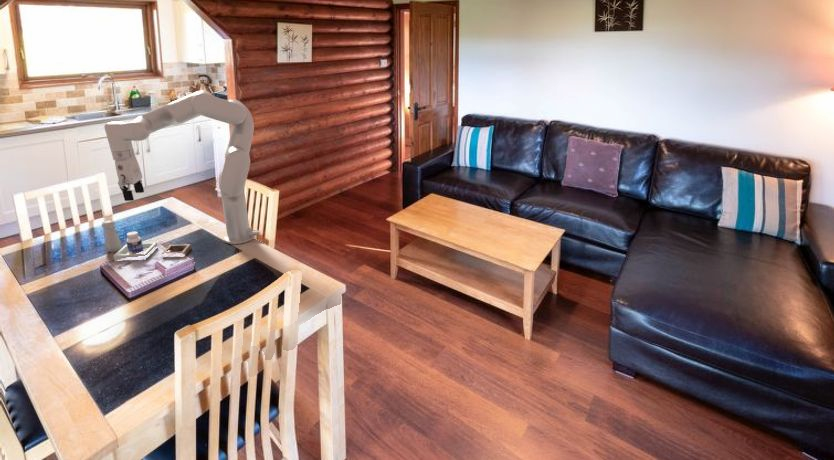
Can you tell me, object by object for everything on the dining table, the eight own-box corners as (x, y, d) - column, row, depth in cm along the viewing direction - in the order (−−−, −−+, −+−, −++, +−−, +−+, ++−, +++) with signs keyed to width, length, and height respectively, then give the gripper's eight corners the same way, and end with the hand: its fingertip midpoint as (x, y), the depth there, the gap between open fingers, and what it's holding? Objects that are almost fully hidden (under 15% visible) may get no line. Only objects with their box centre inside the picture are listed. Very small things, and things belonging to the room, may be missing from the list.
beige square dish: (191, 248, 206) (190, 244, 205) (184, 257, 198) (183, 252, 197) (170, 249, 205) (169, 244, 205) (162, 257, 197) (161, 253, 197)
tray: (158, 247, 206) (156, 242, 205) (146, 260, 195) (144, 254, 194) (128, 249, 205) (127, 243, 204) (114, 261, 194) (113, 255, 193)
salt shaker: (117, 246, 208) (110, 218, 203) (125, 249, 205) (118, 220, 200) (104, 251, 203) (96, 222, 198) (112, 254, 200) (104, 225, 195)
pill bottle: (134, 256, 197) (129, 236, 194) (126, 254, 199) (121, 234, 196) (146, 252, 201) (142, 232, 198) (139, 249, 204) (134, 229, 200)
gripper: (123, 159, 180) (135, 203, 186) (142, 148, 196) (153, 189, 202) (102, 160, 179) (114, 204, 186) (123, 149, 195) (134, 190, 202)
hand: (134, 196), depth 194 cm, fingers open, 9 cm apart
